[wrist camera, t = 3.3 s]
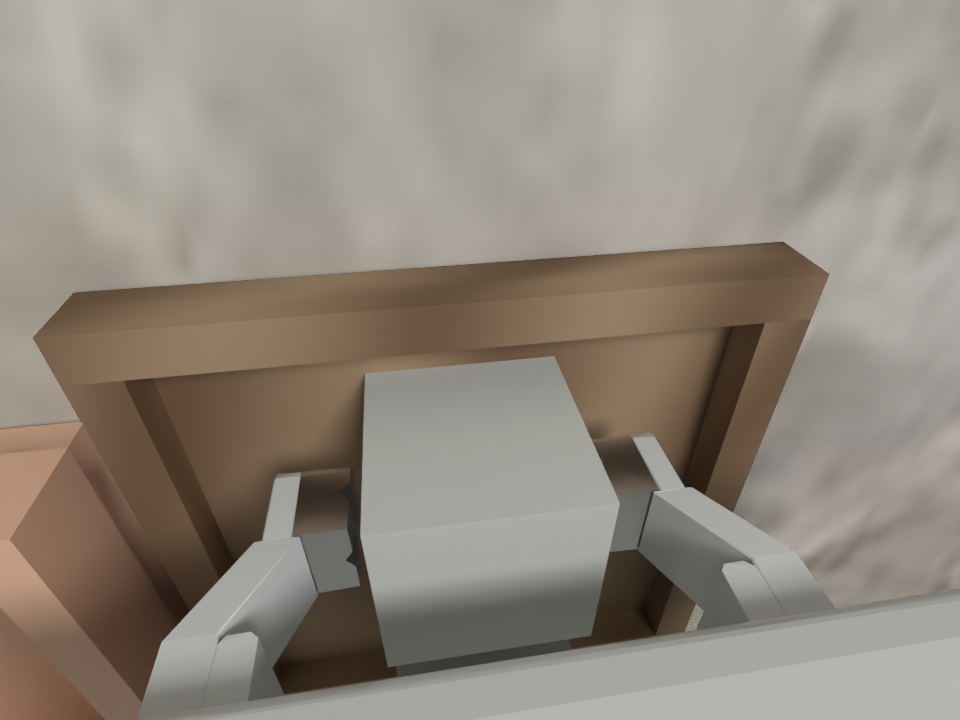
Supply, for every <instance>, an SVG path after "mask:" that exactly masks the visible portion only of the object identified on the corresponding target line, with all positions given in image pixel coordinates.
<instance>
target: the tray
mask: <svg viewBox="0 0 960 720" xmlns="http://www.w3.org/2000/svg"><path fill="white" fill-rule="evenodd" d="M828 276H829V273H827V272H826V271H824V270H823V269H821V268H820V267H819V266H817V265H816V264H814V263H813V262H811V261H810V260H808V259H807V258H806V257H804V256H803V255H801V254H800V253H798V252H797V251H796V250H794V249H793V248H791V247H790V246H788V245H787V244H785V243H784V242H775V243H761V244H747V245H733V246H719V247H705V248H691V249H677V250H663V251H649V252H636V253H622V254H608V255H594V256H580V257H566V258H552V259H538V260H524V261H510V262H496V263H482V264H468V265H454V266H440V267H426V268H412V269H398V270H384V271H370V272H356V273H342V274H328V275H314V276H300V277H287V278H273V279H259V280H245V281H231V282H217V283H203V284H189V285H175V286H161V287H147V288H133V289H119V290H105V291H91V292H77V293H73V294H72V295H71V296H70V297H69V299H68V300H67V301H66V302H65V303H64V304H63V305H62V306H61V307H60V308H59V310H58V311H57V312H56V313H55V314H54V315H53V316H52V317H51V318H50V319H49V321H48V322H47V323H46V324H45V325H44V326H43V327H42V328H41V329H40V330H39V332H38V333H37V334H36V335H35V336H34V337H33V339H34V341H35V342H36V344H37V346H38V348H39V349H40V351H41V353H42V355H43V356H44V358H45V360H46V361H47V363H48V365H49V367H50V368H51V370H52V372H53V374H54V375H55V377H56V379H57V381H58V382H59V384H60V386H61V388H62V389H63V391H64V393H65V395H66V396H67V398H68V400H69V402H70V403H71V405H72V407H73V409H74V410H75V412H76V414H77V415H78V417H79V419H80V421H81V422H82V424H83V426H84V428H85V429H86V431H87V433H88V435H89V436H90V438H91V440H92V442H93V443H94V445H95V447H96V449H97V450H98V452H99V454H100V456H101V457H102V459H103V461H104V462H105V464H106V466H107V468H108V469H109V471H110V473H111V475H112V476H113V478H114V480H115V482H116V483H117V485H118V487H119V489H120V490H121V492H122V494H123V496H124V497H125V499H126V501H127V503H128V504H129V506H130V508H131V509H132V511H133V513H134V515H135V516H136V518H137V520H138V522H139V523H140V525H141V527H142V529H143V530H144V532H145V534H146V536H147V537H148V539H149V541H150V543H151V544H152V546H153V548H154V550H155V551H156V553H157V555H158V556H159V558H160V560H161V562H162V563H163V565H164V567H165V569H166V570H167V572H168V574H169V576H170V577H171V579H172V581H173V583H174V584H175V586H176V588H177V590H178V591H179V593H180V595H181V597H182V598H183V600H184V602H185V604H186V605H187V607H188V609H189V610H190V611H191V610H192V609H193V608H194V607H195V605H196V604H197V603H198V602H199V601H200V600H201V599H202V598H203V597H204V596H205V595H206V594H207V593H208V591H209V590H210V589H211V588H212V587H213V586H214V585H215V584H216V583H217V582H218V581H219V580H220V578H221V577H222V576H223V575H224V574H225V573H226V572H227V571H228V570H229V569H230V568H231V567H232V565H233V564H234V563H235V562H236V561H237V560H238V559H239V558H240V557H241V556H242V555H243V554H244V552H245V551H246V550H247V549H248V548H249V547H250V546H251V545H252V544H253V543H254V542H258V541H262V537H263V532H264V527H265V522H266V517H267V512H268V507H269V502H270V498H271V493H272V488H273V483H274V480H275V478H276V476H277V474H284V473H295V472H303V471H313V470H324V469H335V468H347V467H352V468H353V471H354V475H355V479H356V481H355V492H357V493H358V494H359V499H360V506H361V493H362V459H363V424H364V389H365V374H368V373H379V372H390V371H400V370H411V369H422V368H433V367H443V366H454V365H465V364H476V363H486V362H497V361H508V360H519V359H529V358H540V357H551V356H554V357H555V359H556V361H557V363H558V366H559V368H560V370H561V372H562V375H563V377H564V379H565V381H566V384H567V386H568V388H569V390H570V392H571V395H572V397H573V399H574V401H575V404H576V406H577V408H578V410H579V413H580V415H581V417H582V419H583V422H584V424H585V426H586V428H587V431H588V433H589V435H590V437H591V439H599V438H608V437H616V436H624V435H626V436H627V435H632V434H641V433H649V432H650V433H651V434H653V435H654V436H655V438H656V440H657V441H658V443H659V445H660V446H661V448H662V450H663V451H664V453H665V455H666V456H667V458H668V460H669V461H670V463H671V465H672V466H673V468H674V470H675V472H676V473H677V475H678V477H679V478H680V480H681V482H682V483H683V485H684V487H685V488H687V487H692V488H694V489H696V490H697V491H699V492H700V493H702V494H704V495H705V496H707V497H708V498H710V499H712V500H713V501H715V502H716V503H718V504H720V505H721V506H723V507H724V508H726V509H728V510H729V511H731V512H732V513H733V511H734V508H735V506H736V503H737V501H738V498H739V496H740V493H741V491H742V488H743V486H744V483H745V481H746V479H747V476H748V474H749V471H750V469H751V466H752V464H753V461H754V459H755V456H756V454H757V451H758V449H759V446H760V444H761V442H762V439H763V437H764V434H765V432H766V429H767V427H768V424H769V422H770V419H771V417H772V414H773V412H774V410H775V407H776V405H777V402H778V400H779V397H780V395H781V392H782V390H783V387H784V385H785V382H786V380H787V377H788V375H789V373H790V370H791V368H792V365H793V363H794V360H795V358H796V355H797V353H798V350H799V348H800V345H801V343H802V341H803V338H804V336H805V333H806V331H807V328H808V326H809V323H810V321H811V318H812V316H813V313H814V311H815V309H816V306H817V304H818V301H819V299H820V296H821V294H822V291H823V289H824V286H825V284H826V281H827V279H828ZM358 544H359V548H360V553H361V580H360V586H357V587H351V588H345V589H339V590H333V591H327V592H321V593H317V594H318V596H317V598H316V599H315V601H314V603H313V604H312V606H311V607H310V609H309V611H308V612H307V614H306V615H305V617H304V618H303V620H302V622H301V623H300V625H299V626H298V628H297V630H296V631H295V633H294V634H293V636H292V637H291V639H290V641H289V642H288V644H287V645H286V647H285V649H284V650H283V652H282V653H281V655H280V656H279V658H278V660H277V661H276V663H275V664H274V666H273V668H272V669H273V671H274V673H275V675H276V677H277V679H278V682H279V684H280V686H281V688H282V690H283V693H284V695H290V694H297V693H303V692H309V691H316V690H322V689H328V688H335V687H341V686H347V685H354V684H360V683H366V682H373V681H379V680H385V679H392V678H397V671H396V666H393V667H388V665H387V660H386V656H385V651H384V646H383V641H382V637H381V632H380V627H379V622H378V618H377V613H376V608H375V604H374V599H373V594H372V589H371V585H370V580H369V575H368V570H367V566H366V561H365V556H364V551H363V547H362V542H361V540H360V541H359V543H358ZM695 604H696V603H695V602H694V601H693V600H692V599H691V598H690V597H688V596H687V595H686V594H685V593H684V592H683V591H682V590H681V589H680V588H679V587H677V586H676V585H675V584H674V583H673V582H672V581H671V580H670V579H669V578H667V577H666V576H665V575H664V574H663V573H662V572H661V571H660V570H659V569H658V568H656V567H655V566H654V565H653V564H652V563H651V562H650V561H649V560H648V559H647V558H645V557H644V556H643V555H642V554H641V553H640V552H639V551H638V549H632V550H623V551H614V552H609V556H608V560H607V565H606V570H605V574H604V579H603V583H602V588H601V592H600V597H599V602H598V606H597V611H596V615H595V620H594V625H593V629H592V634H591V636H586V637H579V638H573V639H569V643H570V646H571V650H574V649H581V648H587V647H593V646H600V645H606V644H612V643H619V642H625V641H631V640H638V639H644V638H650V637H656V636H663V635H669V634H675V633H682V632H684V631H685V629H686V626H687V624H688V621H689V619H690V616H691V614H692V612H693V609H694V607H695Z"/></svg>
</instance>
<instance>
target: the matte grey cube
mask: <svg viewBox="0 0 960 720" xmlns="http://www.w3.org/2000/svg"><path fill="white" fill-rule="evenodd" d="M619 505H620V502H619V500H618V498H617V495H616V493H615V491H614V489H613V486H612V484H611V482H610V480H609V477H608V475H607V473H606V471H605V469H604V466H603V464H602V462H601V460H600V457H599V455H598V453H597V451H596V448H595V446H594V444H593V442H592V439H591V437H590V435H589V433H588V431H587V428H586V426H585V424H584V422H583V419H582V417H581V415H580V413H579V410H578V408H577V406H576V404H575V401H574V399H573V397H572V395H571V392H570V390H569V388H568V386H567V384H566V381H565V379H564V377H563V375H562V372H561V370H560V368H559V366H558V363H557V361H556V359H555V357H554V356H551V357H540V358H529V359H519V360H508V361H497V362H486V363H476V364H465V365H454V366H443V367H433V368H422V369H411V370H400V371H390V372H379V373H368V374H365V389H364V424H363V459H362V493H361V528H360V537H361V542H362V547H363V551H364V556H365V561H366V566H367V570H368V575H369V580H370V585H371V589H372V594H373V599H374V604H375V608H376V613H377V618H378V622H379V627H380V632H381V637H382V641H383V646H384V651H385V656H386V660H387V665H388V667H393V666H400V665H406V664H412V663H419V662H425V661H432V660H438V659H444V658H451V657H457V656H464V655H470V654H477V653H483V652H489V651H496V650H502V649H509V648H515V647H522V646H528V645H534V644H541V643H547V642H554V641H560V640H567V639H573V638H579V637H586V636H591V634H592V629H593V625H594V620H595V615H596V611H597V606H598V602H599V597H600V592H601V588H602V583H603V579H604V574H605V570H606V565H607V560H608V556H609V551H610V547H611V542H612V537H613V533H614V528H615V524H616V519H617V515H618V510H619Z"/></svg>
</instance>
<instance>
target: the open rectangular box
mask: <svg viewBox="0 0 960 720" xmlns="http://www.w3.org/2000/svg"><path fill="white" fill-rule="evenodd" d="M189 612H190V610H189V609H188V607H187V605H186V604H185V602H184V600H183V598H182V597H181V595H180V593H179V591H178V590H177V588H176V586H175V584H174V583H173V581H172V579H171V577H170V576H169V574H168V572H167V570H166V569H165V567H164V565H163V563H162V562H161V560H160V558H159V556H158V555H157V553H156V551H155V550H154V548H153V546H152V544H151V543H150V541H149V539H148V537H147V536H146V534H145V532H144V530H143V529H142V527H141V525H140V523H139V522H138V520H137V518H136V516H135V515H134V513H133V511H132V509H131V508H130V506H129V504H128V503H127V501H126V499H125V497H124V496H123V494H122V492H121V490H120V489H119V487H118V485H117V483H116V482H115V480H114V478H113V476H112V475H111V473H110V471H109V469H108V468H107V466H106V464H105V462H104V461H103V459H102V457H101V456H100V454H99V452H98V450H97V449H96V447H95V445H94V443H93V442H92V440H91V438H90V436H89V435H88V433H87V431H86V429H85V428H84V426H83V424H82V422H81V421H80V422H69V423H59V424H49V425H39V426H28V427H18V428H8V429H0V720H132V719H137V717H138V714H139V711H140V708H141V704H142V701H143V698H144V695H145V692H146V689H147V686H148V683H149V680H150V676H151V673H152V670H153V667H154V664H155V661H156V658H157V655H158V652H159V648H160V645H161V642H162V641H163V640H164V639H165V638H166V637H167V636H168V635H169V634H170V633H171V631H172V630H173V629H174V628H175V627H176V626H177V625H178V624H179V623H180V622H181V621H182V620H183V618H184V617H185V616H186V615H187V614H188V613H189Z"/></svg>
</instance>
